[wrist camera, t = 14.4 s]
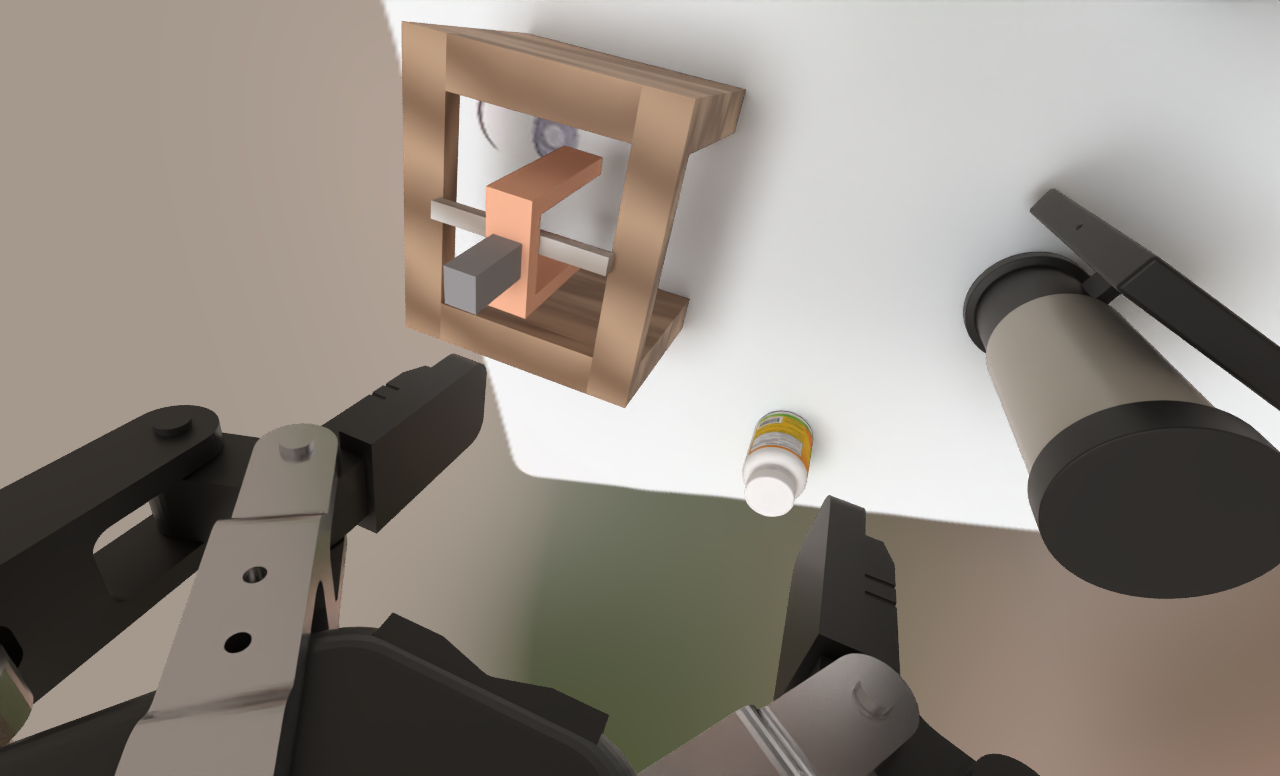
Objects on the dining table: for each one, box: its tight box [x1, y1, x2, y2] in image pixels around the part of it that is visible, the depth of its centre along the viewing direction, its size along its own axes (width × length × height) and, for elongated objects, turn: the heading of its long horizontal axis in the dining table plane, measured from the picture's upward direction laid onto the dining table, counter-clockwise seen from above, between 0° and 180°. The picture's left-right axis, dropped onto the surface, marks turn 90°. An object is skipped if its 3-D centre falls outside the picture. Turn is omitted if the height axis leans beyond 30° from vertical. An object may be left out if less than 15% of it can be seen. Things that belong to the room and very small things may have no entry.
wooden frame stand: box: [402, 21, 746, 408], centre depth 43 cm, size 20×18×16 cm
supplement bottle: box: [742, 412, 813, 517], centre depth 51 cm, size 5×5×10 cm
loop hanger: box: [443, 146, 603, 319], centre depth 38 cm, size 8×3×15 cm, turn 167°
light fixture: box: [963, 189, 1280, 599], centre depth 33 cm, size 12×11×25 cm
